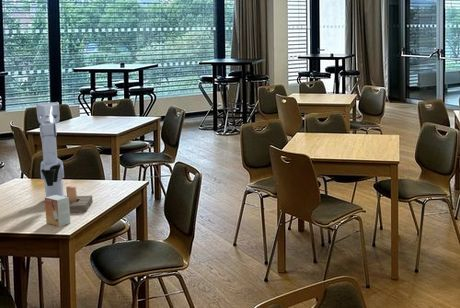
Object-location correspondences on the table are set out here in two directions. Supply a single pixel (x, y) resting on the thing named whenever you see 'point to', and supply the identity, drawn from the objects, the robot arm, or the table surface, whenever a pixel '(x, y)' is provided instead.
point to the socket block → (80, 204)
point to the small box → (57, 210)
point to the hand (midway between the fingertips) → (52, 183)
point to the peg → (71, 193)
